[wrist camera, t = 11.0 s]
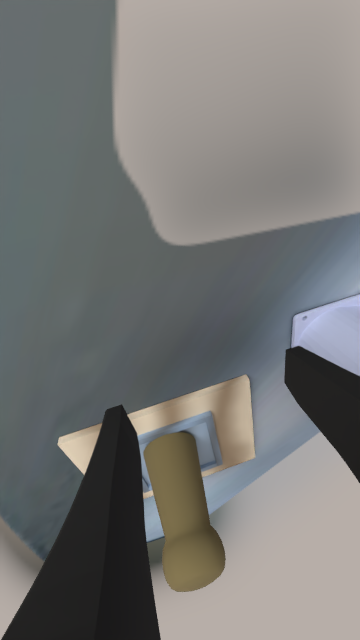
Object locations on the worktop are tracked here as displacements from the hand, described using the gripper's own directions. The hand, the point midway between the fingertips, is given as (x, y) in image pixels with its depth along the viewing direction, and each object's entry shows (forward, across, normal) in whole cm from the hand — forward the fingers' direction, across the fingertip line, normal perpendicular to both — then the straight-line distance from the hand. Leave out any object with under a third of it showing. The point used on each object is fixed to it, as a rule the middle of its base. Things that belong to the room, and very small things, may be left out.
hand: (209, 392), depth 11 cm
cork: (+9, +4, +18) cm, 21 cm away
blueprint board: (+10, +4, +20) cm, 23 cm away
